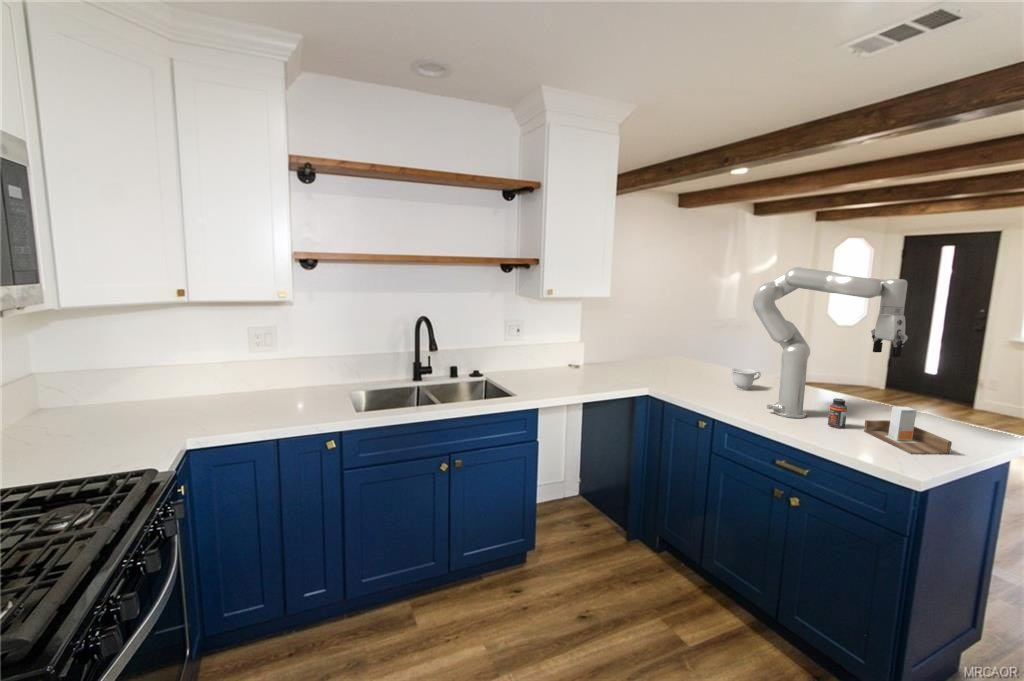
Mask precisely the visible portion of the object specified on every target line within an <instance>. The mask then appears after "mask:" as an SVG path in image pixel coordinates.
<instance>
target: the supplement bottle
mask: <svg viewBox="0 0 1024 681" xmlns="http://www.w3.org/2000/svg"><path fill="white" fill-rule="evenodd" d="M832 400H833V401H832V403H830V405H829V408H828V409H829V410H828V416H827V425H828V426H829V427H831V428H835V429H844V428H845V427H846V421H847V415H848V414H847V413H848V412H847V411H848V406H847V404H846V400H845V399H842V398H833V399H832Z"/></svg>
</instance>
